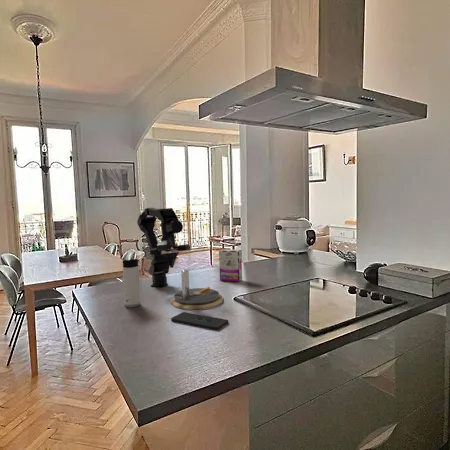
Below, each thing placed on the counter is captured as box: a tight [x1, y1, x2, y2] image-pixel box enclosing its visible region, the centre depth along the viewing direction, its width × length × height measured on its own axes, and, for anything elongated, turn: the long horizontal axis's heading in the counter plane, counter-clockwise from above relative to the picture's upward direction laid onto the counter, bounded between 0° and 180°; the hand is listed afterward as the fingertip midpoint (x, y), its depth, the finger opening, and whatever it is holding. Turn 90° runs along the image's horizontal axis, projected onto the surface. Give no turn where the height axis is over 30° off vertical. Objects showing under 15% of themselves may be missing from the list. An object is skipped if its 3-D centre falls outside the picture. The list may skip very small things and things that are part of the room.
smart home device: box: [170, 311, 229, 331], centre depth 126 cm, size 8×2×20 cm
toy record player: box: [174, 269, 220, 305], centre depth 150 cm, size 20×19×14 cm
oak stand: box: [170, 293, 223, 311], centre depth 150 cm, size 22×22×1 cm
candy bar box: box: [218, 248, 243, 283], centre depth 183 cm, size 11×5×16 cm, turn 68°
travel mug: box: [122, 258, 141, 308], centre depth 146 cm, size 6×7×20 cm
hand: (171, 267), depth 164 cm, fingers closed
